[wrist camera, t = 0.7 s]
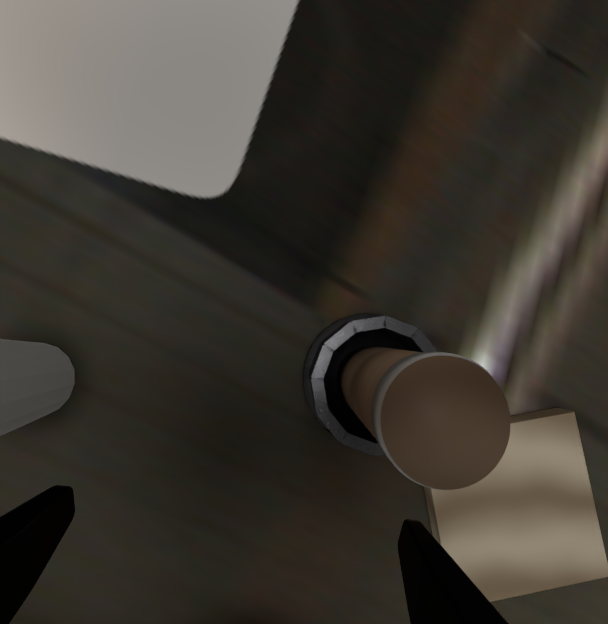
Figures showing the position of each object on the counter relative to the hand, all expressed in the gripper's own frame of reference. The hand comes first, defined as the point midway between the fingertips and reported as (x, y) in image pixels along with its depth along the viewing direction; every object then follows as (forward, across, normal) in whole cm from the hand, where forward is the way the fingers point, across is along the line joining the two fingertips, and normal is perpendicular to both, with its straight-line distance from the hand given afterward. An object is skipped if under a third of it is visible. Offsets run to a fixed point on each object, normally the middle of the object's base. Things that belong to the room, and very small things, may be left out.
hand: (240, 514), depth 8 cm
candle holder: (+16, -7, +3) cm, 18 cm away
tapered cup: (+15, -7, +3) cm, 17 cm away
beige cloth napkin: (+13, -19, +11) cm, 25 cm away
